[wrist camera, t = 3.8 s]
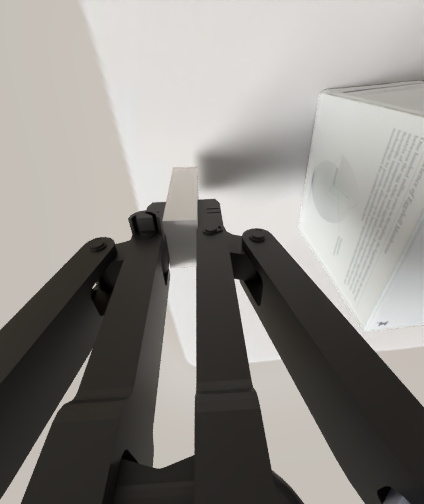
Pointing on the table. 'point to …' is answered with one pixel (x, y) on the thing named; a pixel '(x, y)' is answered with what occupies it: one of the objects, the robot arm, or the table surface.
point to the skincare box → (369, 200)
